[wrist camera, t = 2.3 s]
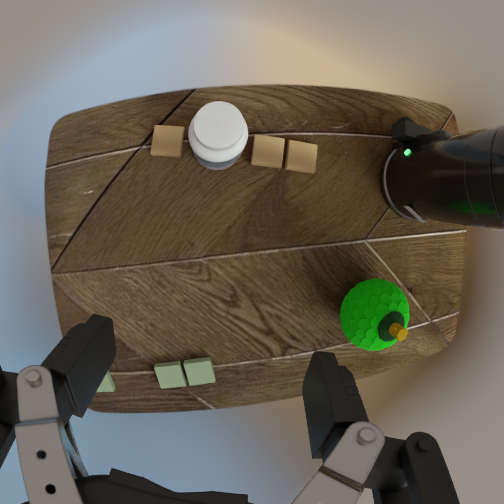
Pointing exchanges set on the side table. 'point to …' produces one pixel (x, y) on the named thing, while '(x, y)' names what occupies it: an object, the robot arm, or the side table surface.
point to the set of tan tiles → (263, 150)
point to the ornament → (375, 314)
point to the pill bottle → (218, 135)
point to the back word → (174, 374)
